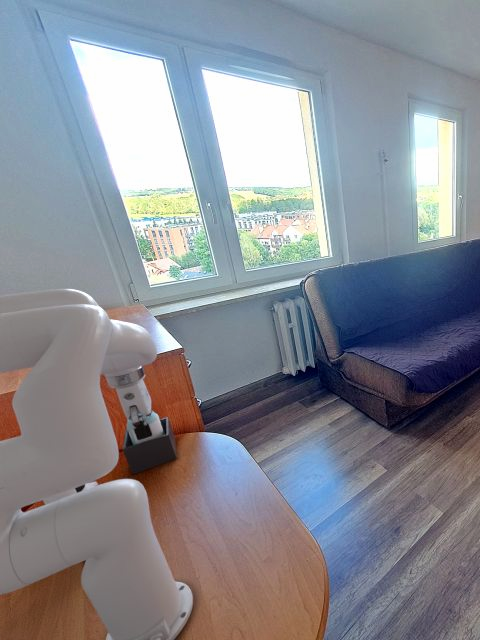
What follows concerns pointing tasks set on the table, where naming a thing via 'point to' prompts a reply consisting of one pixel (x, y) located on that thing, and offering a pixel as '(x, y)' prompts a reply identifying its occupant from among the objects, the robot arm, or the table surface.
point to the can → (154, 426)
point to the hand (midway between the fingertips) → (145, 429)
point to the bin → (150, 449)
